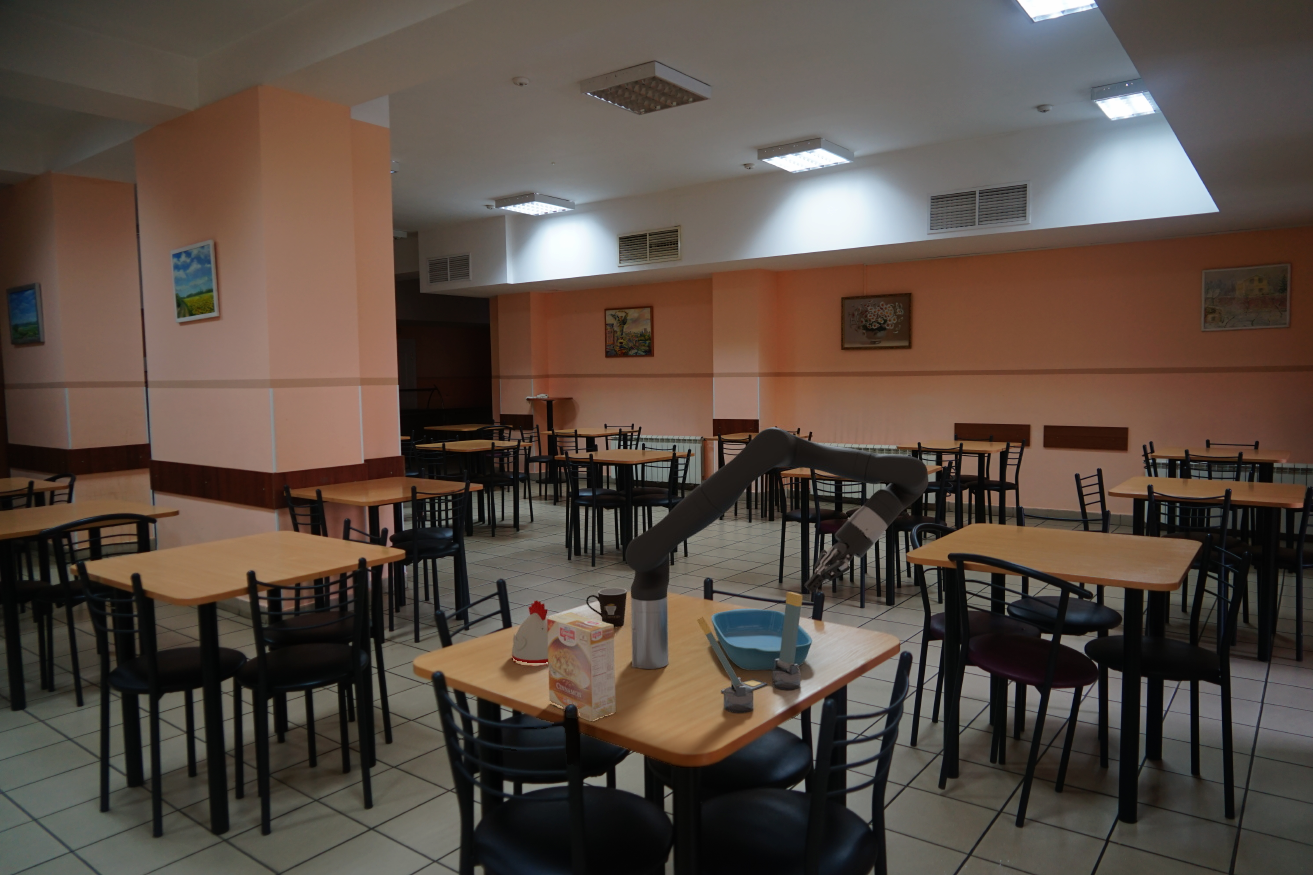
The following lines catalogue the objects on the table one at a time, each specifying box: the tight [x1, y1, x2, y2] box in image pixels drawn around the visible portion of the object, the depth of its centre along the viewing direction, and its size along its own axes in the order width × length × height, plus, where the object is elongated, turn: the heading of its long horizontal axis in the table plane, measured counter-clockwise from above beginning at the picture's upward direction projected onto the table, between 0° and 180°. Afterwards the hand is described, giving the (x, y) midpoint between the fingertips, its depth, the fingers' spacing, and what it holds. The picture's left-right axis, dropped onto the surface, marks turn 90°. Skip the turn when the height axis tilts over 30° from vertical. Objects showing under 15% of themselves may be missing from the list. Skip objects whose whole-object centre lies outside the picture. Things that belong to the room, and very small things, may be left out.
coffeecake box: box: [547, 611, 617, 722], centre depth 173 cm, size 15×7×20 cm, turn 45°
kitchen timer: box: [511, 599, 550, 663], centre depth 208 cm, size 14×14×15 cm
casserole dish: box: [711, 608, 813, 671], centre depth 209 cm, size 37×22×7 cm, turn 7°
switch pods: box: [723, 659, 801, 714], centre depth 178 cm, size 24×6×6 cm, turn 135°
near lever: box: [696, 616, 744, 690], centre depth 171 cm, size 2×4×18 cm, turn 6°
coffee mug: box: [585, 587, 628, 628], centre depth 238 cm, size 12×9×10 cm
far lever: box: [777, 591, 804, 671], centre depth 185 cm, size 2×4×18 cm, turn 32°
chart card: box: [720, 678, 768, 694], centre depth 183 cm, size 11×4×1 cm, turn 131°
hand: (808, 589), depth 173 cm, fingers closed
